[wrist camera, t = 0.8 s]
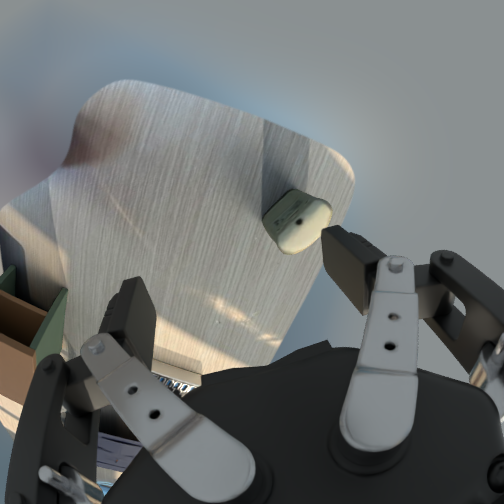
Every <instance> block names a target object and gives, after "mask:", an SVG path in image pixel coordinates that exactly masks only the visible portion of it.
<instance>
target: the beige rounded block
mask: <svg viewBox="0 0 504 504" xmlns="http://www.w3.org/2000/svg"><path fill="white" fill-rule="evenodd" d="M331 217H332V207H331V205H330V204H329V203H328V202H327V201H325V200H324V199H320V198H316V197H313V196H311V195H309V194H307V193H304V192H302V191H300V190H298V189H291V190H289V191H287V192H286V193H285V194H284V195H283V196H282V197H281V198H280V199H279V200H278V201H277V202H276V203H275V204H274V205H273V206H272V207H271V208H270V209H269V210H268V211H267V212H266V213H265V214H264V216H263V218H262V223H263V225H264V227H265V229H266V231H267V233H268V234H269V236H270V237H271V238H272V239H273V240H274V241H275V243H276V244H277V246H278V248H279V249H280V251H281V252H282V253H283V254H286V255H292V254H296V253H298V252H301V251H303V250H304V249H306V248H307V247H309V246H310V245H311V244H312V243H313V242H315V241H316V240H317V239H318V238H319V237H320V236H321V230H322V229H323V228H327V226H328V224H329V222H330V219H331Z"/></svg>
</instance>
